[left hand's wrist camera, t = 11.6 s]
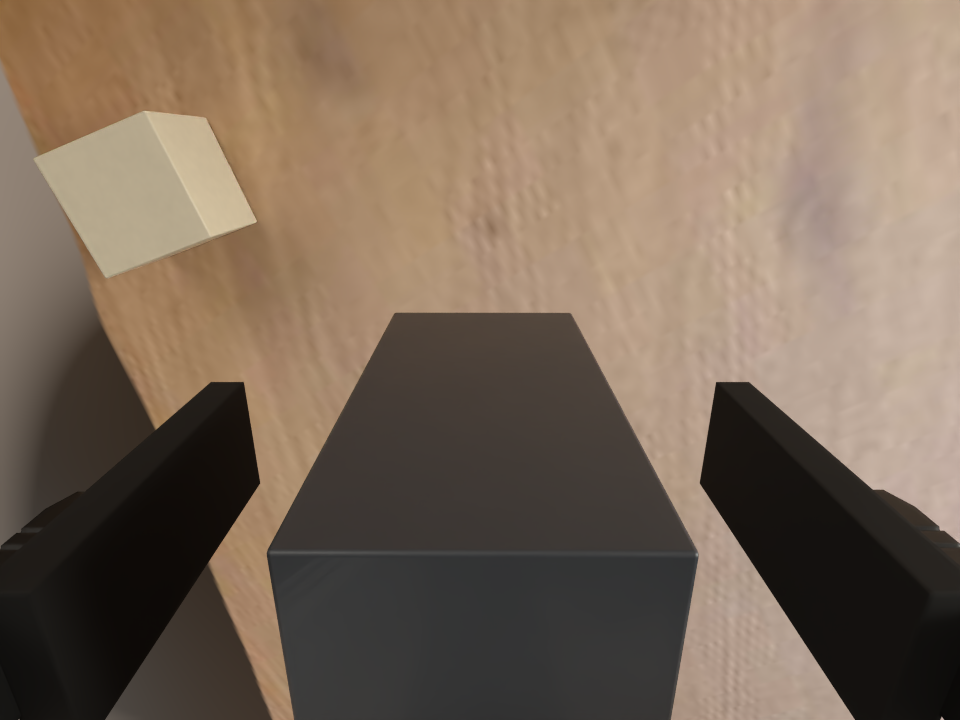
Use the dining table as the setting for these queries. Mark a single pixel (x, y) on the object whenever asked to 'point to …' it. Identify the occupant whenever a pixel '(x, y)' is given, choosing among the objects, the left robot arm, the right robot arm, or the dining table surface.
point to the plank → (482, 538)
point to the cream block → (146, 189)
